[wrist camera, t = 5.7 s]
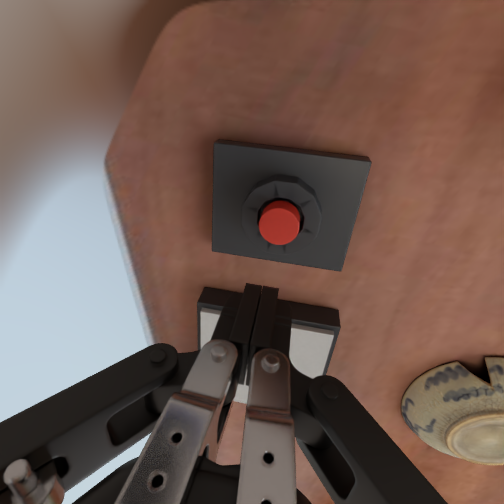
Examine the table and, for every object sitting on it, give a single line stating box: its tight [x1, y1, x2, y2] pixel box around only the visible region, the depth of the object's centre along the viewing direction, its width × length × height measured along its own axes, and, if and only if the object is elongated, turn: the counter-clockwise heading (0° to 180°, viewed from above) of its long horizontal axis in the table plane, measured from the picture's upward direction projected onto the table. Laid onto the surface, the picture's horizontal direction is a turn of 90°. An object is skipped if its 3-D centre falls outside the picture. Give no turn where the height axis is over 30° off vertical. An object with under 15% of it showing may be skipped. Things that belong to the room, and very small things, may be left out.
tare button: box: [259, 200, 300, 245], centre depth 22 cm, size 3×3×2 cm
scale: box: [197, 287, 341, 404], centre depth 31 cm, size 13×13×3 cm
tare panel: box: [212, 139, 371, 271], centre depth 23 cm, size 11×9×3 cm
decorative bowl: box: [401, 357, 504, 465], centre depth 30 cm, size 15×4×15 cm
